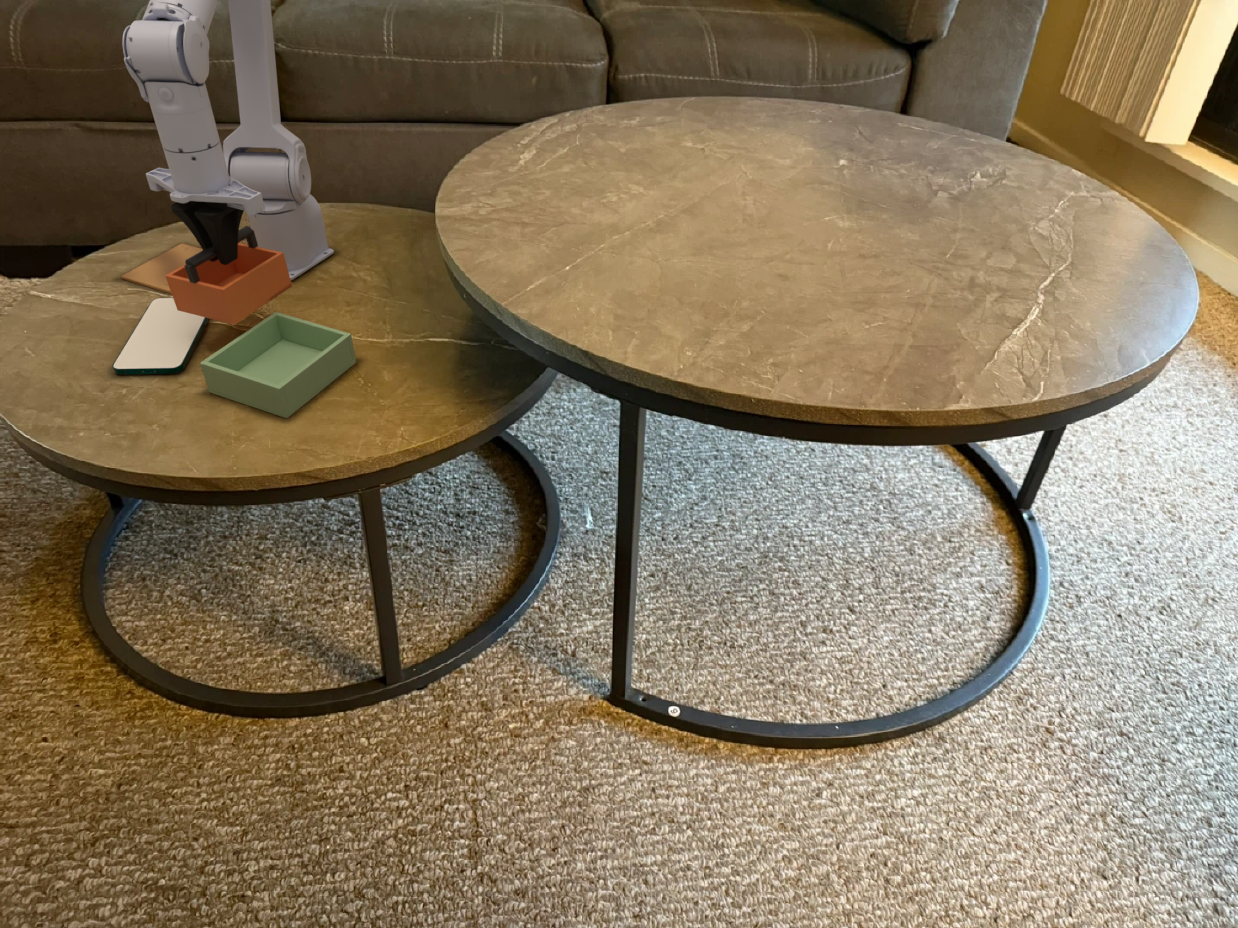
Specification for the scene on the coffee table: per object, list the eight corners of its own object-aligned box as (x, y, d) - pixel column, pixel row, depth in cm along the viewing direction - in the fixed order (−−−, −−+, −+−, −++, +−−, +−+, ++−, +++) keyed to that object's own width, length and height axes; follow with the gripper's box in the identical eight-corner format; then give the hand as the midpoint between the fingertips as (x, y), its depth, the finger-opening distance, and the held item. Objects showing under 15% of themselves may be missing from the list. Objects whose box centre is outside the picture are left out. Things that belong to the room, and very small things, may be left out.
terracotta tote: (238, 273, 113) (221, 218, 109) (293, 285, 111) (278, 230, 106) (176, 311, 106) (155, 254, 102) (233, 325, 103) (215, 268, 99)
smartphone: (182, 374, 105) (218, 303, 117) (180, 368, 104) (216, 296, 117) (111, 376, 105) (154, 303, 117) (108, 369, 104) (152, 297, 116)
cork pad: (182, 245, 129) (182, 243, 129) (232, 259, 127) (231, 256, 126) (121, 278, 122) (120, 276, 121) (172, 294, 119) (171, 291, 119)
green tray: (282, 339, 111) (275, 311, 109) (356, 362, 108) (351, 333, 105) (209, 392, 103) (199, 362, 100) (287, 418, 99) (279, 388, 97)
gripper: (110, 143, 96) (149, 260, 104) (217, 168, 91) (249, 288, 100) (161, 122, 101) (194, 235, 109) (265, 145, 96) (291, 261, 105)
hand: (223, 259), depth 105 cm, fingers closed on terracotta tote
